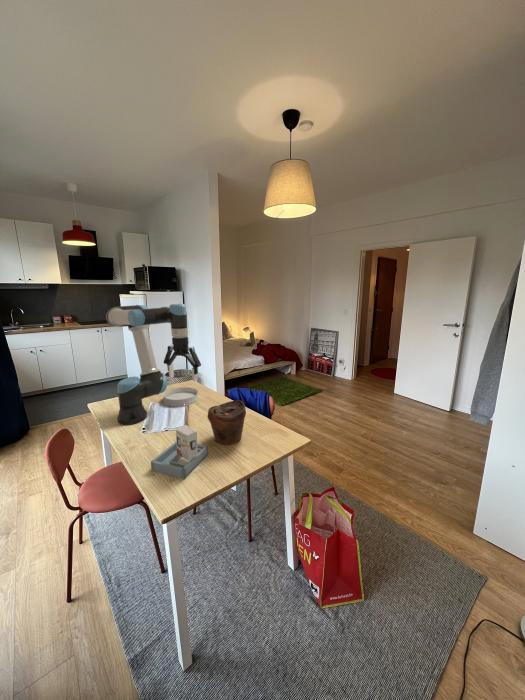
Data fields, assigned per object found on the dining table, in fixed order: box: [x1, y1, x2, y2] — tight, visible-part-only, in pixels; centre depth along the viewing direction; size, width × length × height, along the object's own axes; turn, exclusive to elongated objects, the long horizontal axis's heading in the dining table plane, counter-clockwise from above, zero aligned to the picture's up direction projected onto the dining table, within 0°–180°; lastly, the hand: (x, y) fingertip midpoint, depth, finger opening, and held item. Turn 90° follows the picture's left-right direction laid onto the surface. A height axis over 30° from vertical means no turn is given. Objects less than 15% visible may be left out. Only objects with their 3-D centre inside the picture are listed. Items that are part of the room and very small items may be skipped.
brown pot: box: [207, 399, 247, 446], centre depth 140 cm, size 18×20×18 cm
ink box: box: [175, 424, 198, 461], centre depth 120 cm, size 9×5×12 cm, turn 50°
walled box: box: [150, 441, 209, 480], centre depth 123 cm, size 16×18×4 cm
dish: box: [163, 387, 199, 408], centre depth 189 cm, size 22×22×5 cm
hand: (183, 378), depth 142 cm, fingers open, 13 cm apart
